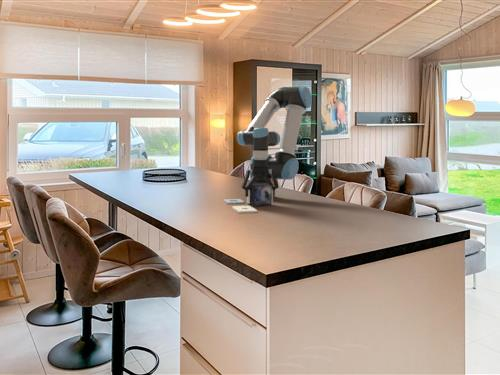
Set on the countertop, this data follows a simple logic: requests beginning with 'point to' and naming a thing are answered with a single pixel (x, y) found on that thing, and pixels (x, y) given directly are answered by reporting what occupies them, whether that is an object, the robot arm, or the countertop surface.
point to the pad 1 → (233, 201)
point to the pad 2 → (244, 209)
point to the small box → (260, 194)
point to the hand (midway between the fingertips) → (259, 202)
